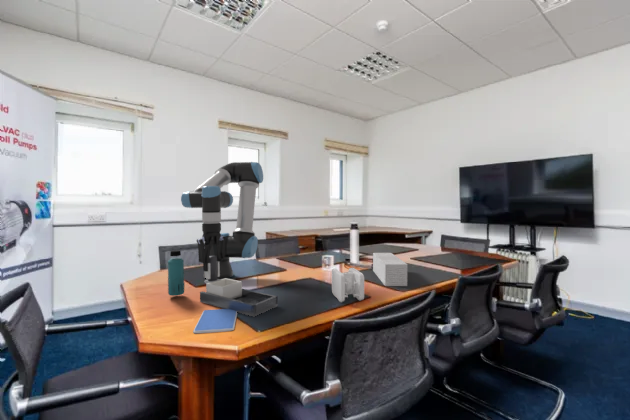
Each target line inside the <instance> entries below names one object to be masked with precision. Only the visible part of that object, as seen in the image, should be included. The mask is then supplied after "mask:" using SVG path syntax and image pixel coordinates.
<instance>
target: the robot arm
mask: <svg viewBox="0 0 630 420" xmlns="http://www.w3.org/2000/svg"><path fill="white" fill-rule="evenodd" d="M263 182H264V172H263V167H262V165H261V164H260V162H254V161H246V162H241V161H239V162H238V161H237V162H234V161H233V162H230V163H227V164H225V165H222V166H220V167H219V168H218V169H217V170H215V172H214V173H213V175H212V176H211V177H209V178H207V179H206V180H205V181H204V182H202V183H201V184H200V185H199V186H197V187H196V188H195V189H194V190H192V191H191V190H190V191H189V190H188V191H184V192H182V194H181V196H180V202H181V204H182V206H183V207H184V208H187V209H188V208H189V209H202V211H201V212H202V213H201V221H202V226H201V230H202V236H201V237H200V238H196V243H197V248H198V250H197V252H198V253H197V254H198V263H201V264H203V265H202V267H203V271H204V272H203V279H205V278H206V279H205V280H207V279H210V263H209V257H210V256H217V279H224V278H227V279H231V277H233V276H234V270H233V269H232V265H231V263H230V258H234V259H235V258H238V259H240V258H241V259H250V258H253V257H254V255H255V254H256V253H257V249H258V245H259V242H258V241H259V240H258V237H257V236H256V233H255V232H254V230H253V228H254V227H253V225H254V214H255V205H256V204H255V203H256V195H257V194H256V193H257V192H256V191H257V189H258V188H259V187H260V184H261V183H263ZM236 183H237V185H238V186H239V187H240V188H239V190H240V191H239V197H238V198H239V200H238V206H237V207H238V209H237V218H236V228H235V230H233V231H232V235H230V233H229V232H223V233H221V230H222V224H221V223H220V222H221V221H222V211H221V210H222V209H226V208H229V207H231V206H232V205H233V203H234V198H233V197H234V196H233V195H232V193H230V192H229V191H228V192H227V191H225V190H224V191H221V189H222V188H223V187H224V186H228V185H229V184H236Z"/></svg>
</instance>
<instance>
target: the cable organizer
mask: <svg viewBox="0 0 630 420" xmlns="http://www.w3.org/2000/svg"><path fill="white" fill-rule="evenodd" d="M331 292H332V294H333V296H334V297H335V298H337V300H338V302H339V303H343V302H345V301H346V298H347V299H348V298H349V296H348V295H352V296H353V298H356V299H357V300H358V301H359V302H360V301H363V300H364V299H365V275H364V274H363V273H362V272H361V271H359V270H358V269H356V268H354V267H349V268H348V270H347V272H341V271H340V270H338V269H337V268H332V269H331Z"/></svg>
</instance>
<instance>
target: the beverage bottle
mask: <svg viewBox="0 0 630 420" xmlns="http://www.w3.org/2000/svg"><path fill="white" fill-rule="evenodd" d="M181 252H182V251H181V250H180V249H179V250H178V249H175V250H171V251H170V254H169V255H170V257H171V258H170V259H169V260H167V274H168V275H167V293H168V295H169V296H170V297H171V296H173V297H174V296H181V295H183V294H184V293H185V291H186V290H185V288H186V287H185V268H184V267H185V266H184V259H183V258H181V256H182V253H181ZM179 256H180V257H179Z"/></svg>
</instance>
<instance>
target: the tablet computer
mask: <svg viewBox="0 0 630 420" xmlns="http://www.w3.org/2000/svg"><path fill="white" fill-rule="evenodd" d="M237 317H238V313H237V311H235V310H231V309H223V308H221V309H220V308H218V309H204V310H203V311H202V313H201V315H200V317H199V319H198V321H197V323H196V325H195V327H194V329H193V331H192V333H193V334H209V333H211V334H212V333H221V332H224V333H225V332H231V331H234V330H235V326H236V321H237Z"/></svg>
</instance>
